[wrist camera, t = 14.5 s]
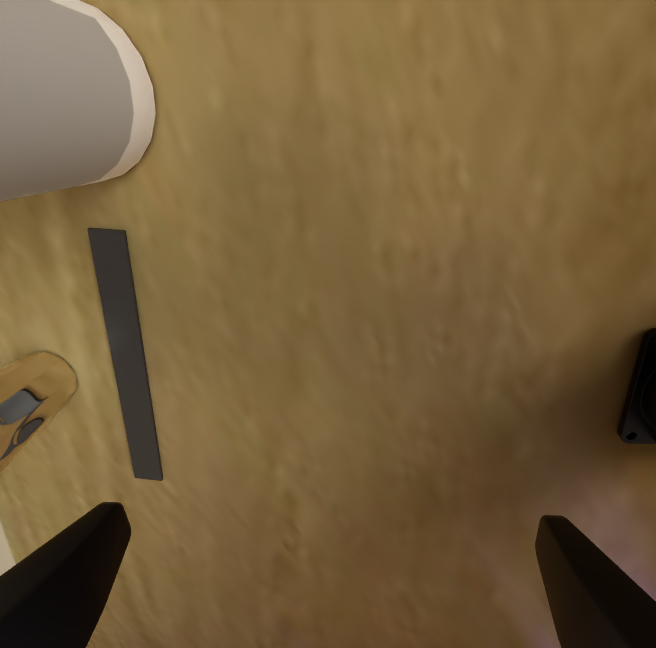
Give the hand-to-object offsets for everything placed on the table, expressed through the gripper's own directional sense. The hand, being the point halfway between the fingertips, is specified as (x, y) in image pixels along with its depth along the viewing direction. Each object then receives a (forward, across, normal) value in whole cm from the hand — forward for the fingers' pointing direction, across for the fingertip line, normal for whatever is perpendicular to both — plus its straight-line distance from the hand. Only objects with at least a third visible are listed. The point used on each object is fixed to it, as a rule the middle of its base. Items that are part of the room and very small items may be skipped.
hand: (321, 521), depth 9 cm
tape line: (+13, +12, +4) cm, 18 cm away
